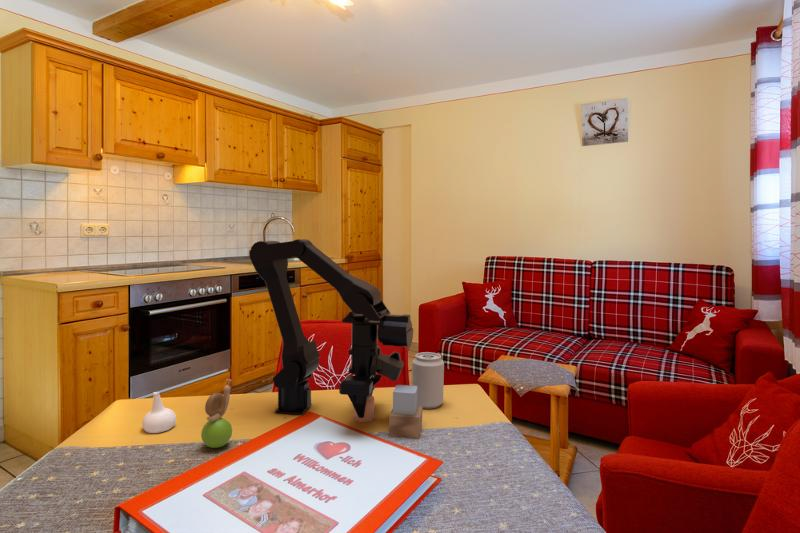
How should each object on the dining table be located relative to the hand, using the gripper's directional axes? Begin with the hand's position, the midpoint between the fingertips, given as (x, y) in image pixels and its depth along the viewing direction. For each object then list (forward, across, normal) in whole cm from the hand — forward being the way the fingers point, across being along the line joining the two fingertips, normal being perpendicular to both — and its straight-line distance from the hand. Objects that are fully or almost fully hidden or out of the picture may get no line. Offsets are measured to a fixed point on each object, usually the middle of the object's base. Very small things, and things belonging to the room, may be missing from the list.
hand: (363, 413), depth 103 cm
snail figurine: (+1, -18, +24) cm, 30 cm away
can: (+1, +11, -13) cm, 17 cm away
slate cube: (-3, -5, -10) cm, 11 cm away
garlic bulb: (+1, -13, +40) cm, 42 cm away
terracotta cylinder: (+1, 0, 0) cm, 1 cm away
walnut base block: (+1, -5, -10) cm, 11 cm away
